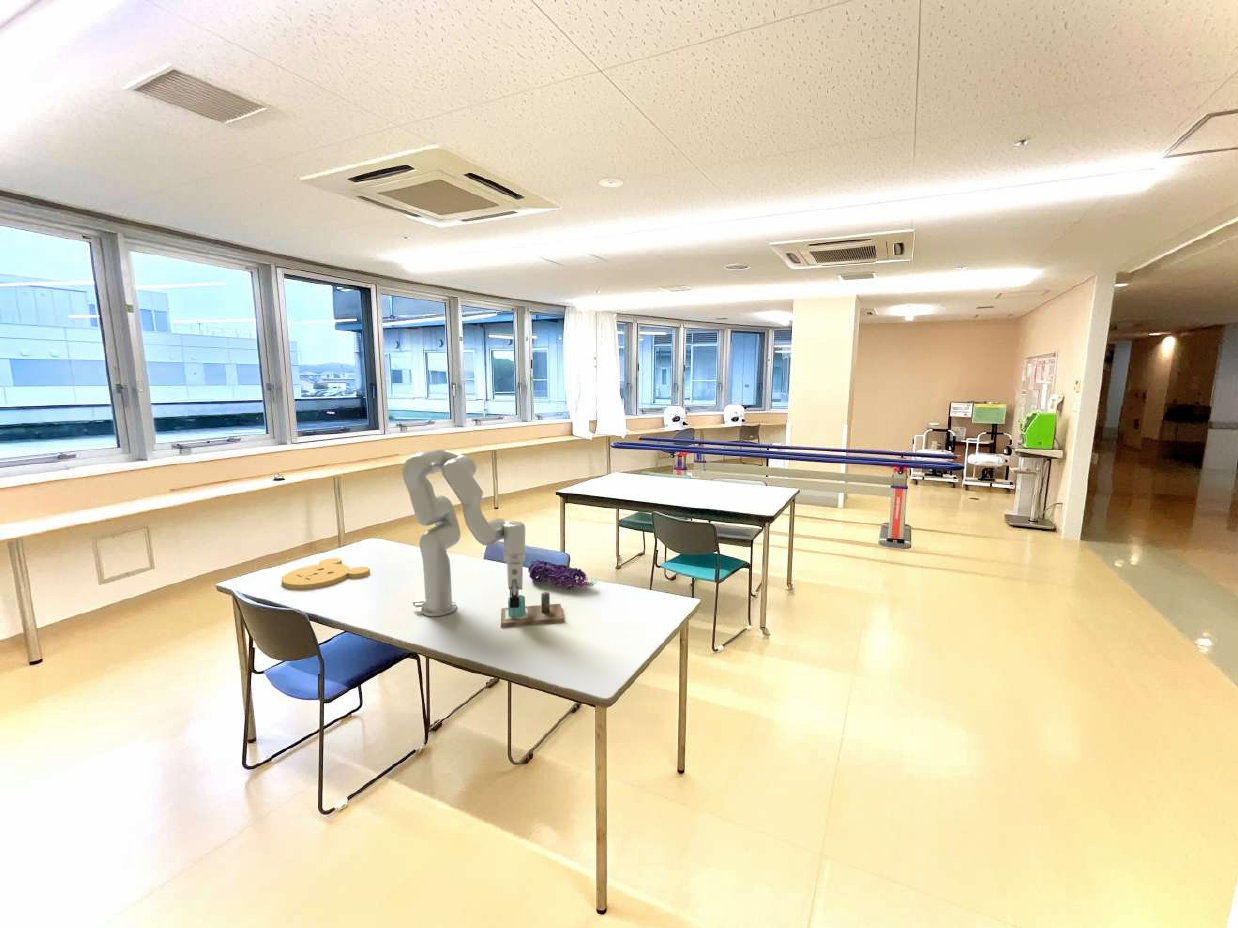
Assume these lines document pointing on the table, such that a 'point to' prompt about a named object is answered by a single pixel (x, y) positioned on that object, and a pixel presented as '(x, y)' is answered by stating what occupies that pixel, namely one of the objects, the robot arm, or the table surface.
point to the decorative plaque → (322, 575)
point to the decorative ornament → (558, 574)
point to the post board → (535, 614)
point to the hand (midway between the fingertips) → (514, 601)
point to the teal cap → (517, 611)
